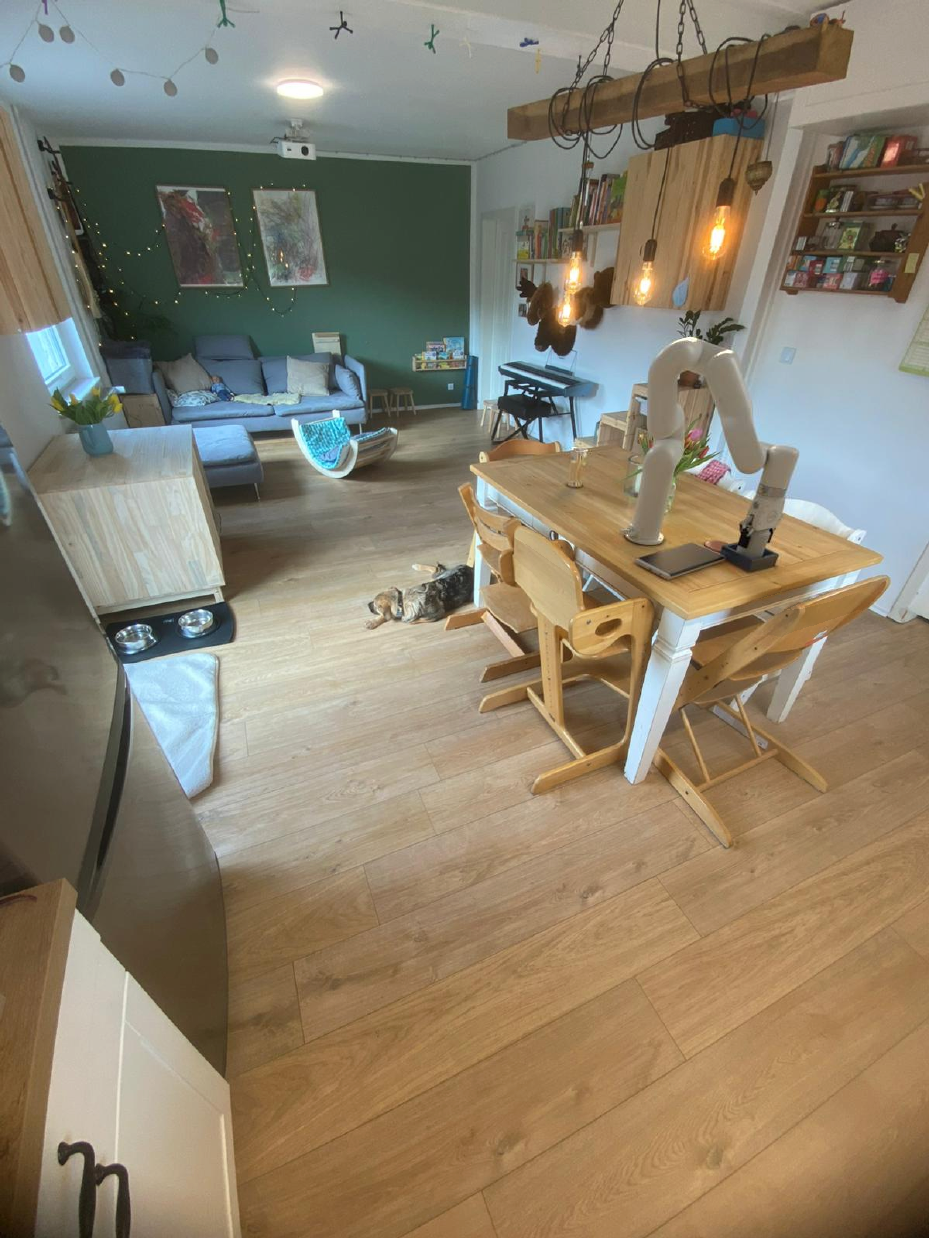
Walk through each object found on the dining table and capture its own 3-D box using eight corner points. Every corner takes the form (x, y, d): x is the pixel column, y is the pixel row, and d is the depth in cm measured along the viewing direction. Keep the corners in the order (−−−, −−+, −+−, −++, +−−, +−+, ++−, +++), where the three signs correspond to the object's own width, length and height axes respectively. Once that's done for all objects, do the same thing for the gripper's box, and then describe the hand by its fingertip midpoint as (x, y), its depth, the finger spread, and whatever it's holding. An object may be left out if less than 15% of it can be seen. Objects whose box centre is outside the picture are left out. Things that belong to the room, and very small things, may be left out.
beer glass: (585, 484, 225) (590, 448, 217) (579, 488, 220) (584, 452, 212) (570, 481, 228) (574, 446, 220) (563, 485, 223) (568, 449, 215)
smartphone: (633, 563, 164) (634, 558, 163) (690, 545, 176) (692, 540, 175) (667, 581, 154) (668, 576, 154) (725, 561, 167) (727, 556, 166)
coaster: (719, 554, 171) (720, 553, 170) (699, 544, 177) (700, 542, 177) (738, 550, 174) (739, 549, 173) (718, 540, 180) (718, 538, 180)
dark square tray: (748, 572, 161) (752, 560, 158) (718, 556, 169) (722, 545, 167) (774, 566, 165) (779, 554, 163) (744, 550, 174) (748, 539, 171)
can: (733, 563, 165) (745, 528, 159) (733, 554, 171) (744, 519, 165) (760, 568, 163) (773, 532, 156) (758, 558, 169) (771, 523, 162)
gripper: (761, 498, 148) (743, 553, 158) (803, 490, 155) (783, 544, 164) (739, 490, 154) (723, 544, 163) (780, 482, 160) (762, 535, 170)
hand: (753, 544), depth 164 cm, fingers open, 9 cm apart
